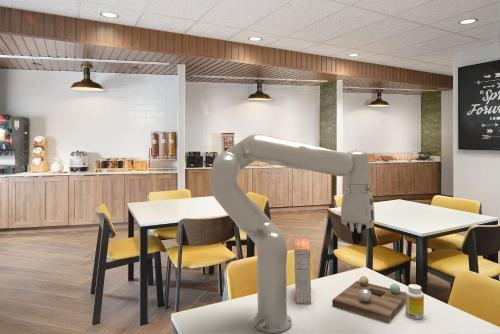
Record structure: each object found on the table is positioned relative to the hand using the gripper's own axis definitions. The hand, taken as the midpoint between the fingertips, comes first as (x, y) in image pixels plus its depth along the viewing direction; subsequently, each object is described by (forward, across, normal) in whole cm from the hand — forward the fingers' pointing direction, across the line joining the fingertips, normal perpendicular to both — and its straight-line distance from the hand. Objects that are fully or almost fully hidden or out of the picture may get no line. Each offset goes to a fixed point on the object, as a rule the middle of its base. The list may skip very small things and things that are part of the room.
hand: (357, 243), depth 119 cm
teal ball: (+21, -6, -21) cm, 30 cm away
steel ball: (+21, 0, -7) cm, 22 cm away
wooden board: (+26, 0, -13) cm, 28 cm away
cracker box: (+26, +23, -3) cm, 35 cm away
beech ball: (+21, +6, -21) cm, 30 cm away
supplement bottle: (+26, -15, -12) cm, 32 cm away
